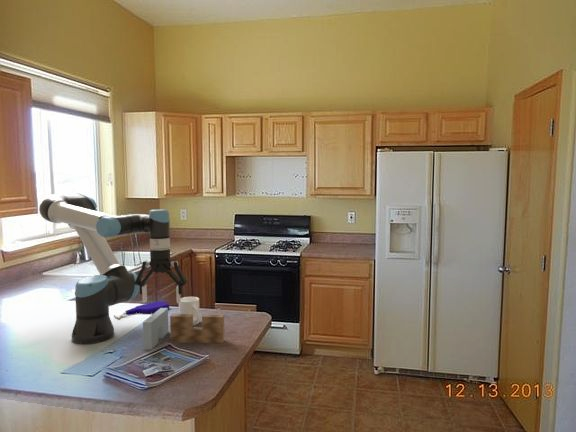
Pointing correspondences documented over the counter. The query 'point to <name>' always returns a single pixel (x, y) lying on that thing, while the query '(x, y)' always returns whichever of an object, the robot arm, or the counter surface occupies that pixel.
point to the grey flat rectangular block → (155, 328)
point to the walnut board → (197, 329)
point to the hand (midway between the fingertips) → (161, 302)
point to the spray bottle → (143, 309)
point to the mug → (190, 308)
